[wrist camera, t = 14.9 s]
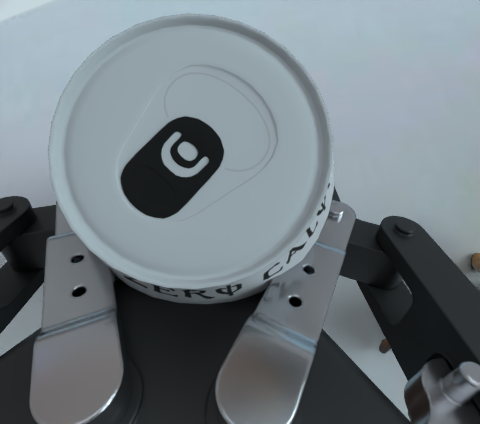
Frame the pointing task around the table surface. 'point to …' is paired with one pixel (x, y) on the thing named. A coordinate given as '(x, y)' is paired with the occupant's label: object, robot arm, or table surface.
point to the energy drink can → (193, 158)
